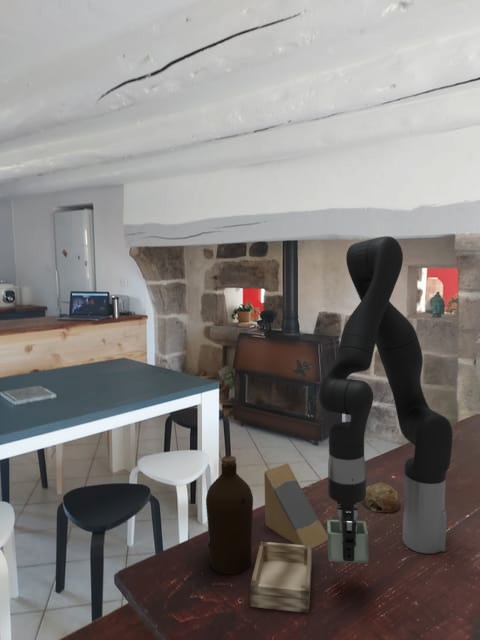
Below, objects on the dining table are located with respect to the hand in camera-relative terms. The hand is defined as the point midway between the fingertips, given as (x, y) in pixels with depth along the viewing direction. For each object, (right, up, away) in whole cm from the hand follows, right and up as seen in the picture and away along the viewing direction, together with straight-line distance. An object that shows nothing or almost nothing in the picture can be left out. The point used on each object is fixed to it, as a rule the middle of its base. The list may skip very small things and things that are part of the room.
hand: (347, 550), depth 104 cm
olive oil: (-25, -8, +10) cm, 28 cm away
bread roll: (+17, -4, +36) cm, 40 cm away
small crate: (0, -1, 0) cm, 1 cm away
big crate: (-13, -8, +2) cm, 16 cm away
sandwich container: (-8, -6, +23) cm, 25 cm away
